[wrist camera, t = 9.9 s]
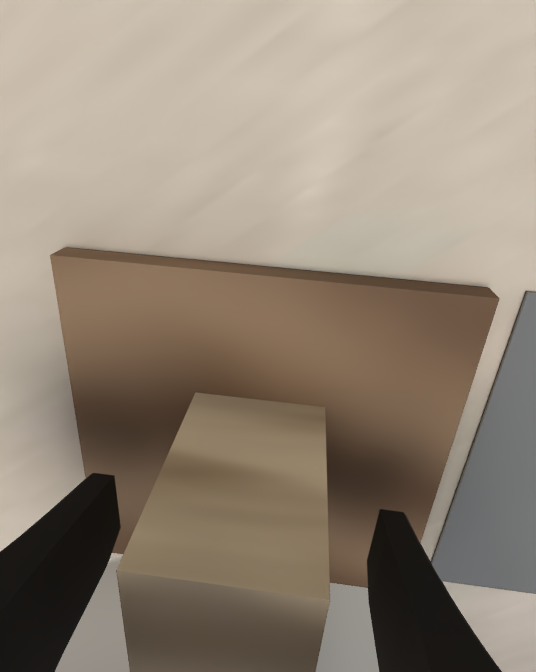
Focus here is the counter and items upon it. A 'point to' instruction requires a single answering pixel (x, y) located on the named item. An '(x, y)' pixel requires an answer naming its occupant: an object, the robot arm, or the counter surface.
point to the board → (272, 373)
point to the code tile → (499, 479)
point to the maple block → (232, 544)
